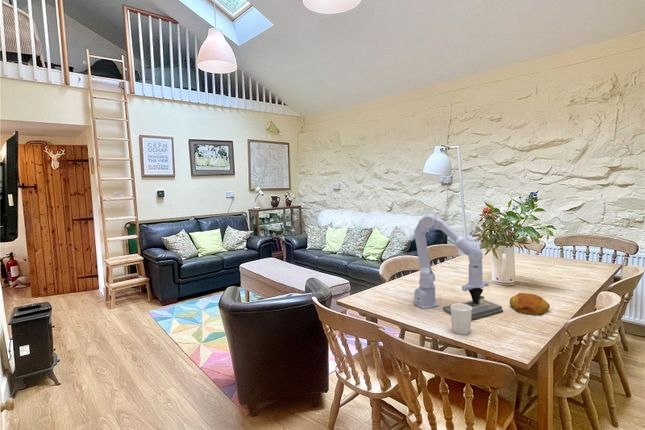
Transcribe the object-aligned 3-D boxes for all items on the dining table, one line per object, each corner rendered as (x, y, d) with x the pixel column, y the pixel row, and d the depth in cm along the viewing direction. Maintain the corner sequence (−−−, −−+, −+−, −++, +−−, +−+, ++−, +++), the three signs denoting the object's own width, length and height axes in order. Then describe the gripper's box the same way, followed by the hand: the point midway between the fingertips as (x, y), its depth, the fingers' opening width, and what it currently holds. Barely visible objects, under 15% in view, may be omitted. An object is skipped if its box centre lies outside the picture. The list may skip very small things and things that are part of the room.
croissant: (513, 306, 169) (511, 289, 169) (551, 308, 159) (549, 291, 159) (506, 315, 158) (504, 297, 158) (546, 318, 148) (544, 299, 148)
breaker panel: (462, 320, 150) (462, 313, 150) (444, 311, 160) (443, 305, 160) (502, 309, 160) (502, 303, 160) (482, 302, 170) (482, 296, 170)
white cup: (466, 326, 144) (466, 302, 143) (475, 334, 136) (475, 310, 135) (447, 327, 144) (447, 303, 143) (455, 336, 136) (455, 311, 135)
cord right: (469, 321, 149) (469, 319, 148) (467, 320, 149) (467, 318, 149) (503, 312, 157) (503, 309, 157) (501, 311, 158) (501, 309, 158)
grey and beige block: (480, 307, 159) (480, 297, 159) (473, 304, 163) (473, 295, 162) (484, 306, 160) (484, 296, 160) (477, 303, 164) (477, 294, 163)
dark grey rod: (444, 309, 162) (444, 307, 162) (442, 309, 163) (442, 307, 163) (476, 301, 170) (476, 299, 170) (475, 301, 171) (475, 299, 171)
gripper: (470, 279, 152) (470, 309, 154) (494, 274, 158) (494, 303, 160) (458, 275, 159) (458, 304, 160) (481, 270, 165) (481, 298, 166)
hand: (475, 303), depth 160 cm, fingers closed
